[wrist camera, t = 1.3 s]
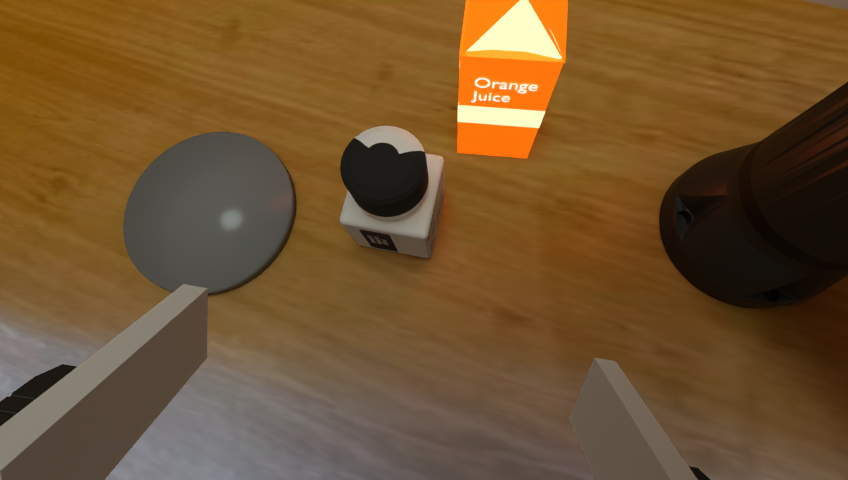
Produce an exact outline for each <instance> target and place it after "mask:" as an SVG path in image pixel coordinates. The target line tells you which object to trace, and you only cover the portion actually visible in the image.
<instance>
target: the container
mask: <svg viewBox="0 0 848 480" xmlns="http://www.w3.org/2000/svg"><path fill="white" fill-rule="evenodd" d="M340 170H341V176H342V180H343V182H344V184H345V186H346V188H347V189H348V191H347V194H346V198H345V201H344V205H343V208H342V212H341V215H340V223H341V224H342V225H343V226H344V228H345V229H346V230H347V231H348V232H349V234H350V235H351V236H352V237H353V238H354V239H355V241H356V242H357V243H358V244H359V245H360V246H365V247H370V248H376V249H381V250H386V251H391V252H396V253H402V254H407V255H412V256H417V257H422V258H430V257H431V256H432V252H433V247H434V242H435V238H436V233H437V228H438V223H439V219H440V214H441V209H442V205H443V200H444V195H445V176H444V159H443V158H442V157H441V156H437V155H431V154H425V151H424V149H423V146H422V145H421V143H420V142H419V141H418V139H417V138H416V137H415V136H414V135H412V134H411V133H409V132H408V131H406V130H404V129H401V128H398V127H393V126H379V127H374V128H371V129H368V130H366V131H364V132H362V133H360V134H359V135H357V136H356V137H355V138H354V139H353V140H352V141H351V142H350V143H349V144H348V146H347V147H346V149H345V151H344V153H343V156H342V159H341V166H340Z"/></svg>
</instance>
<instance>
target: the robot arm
mask: <svg viewBox="0 0 848 480" xmlns="http://www.w3.org/2000/svg"><path fill="white" fill-rule="evenodd" d="M660 230H661V235H662V239H663V242H664V245H665V247H666V250H667V252H668V254H669V256H670V258H671V259H672V261H673V262H674V264H675V265H676V267H677V268H678V269H679V270H680V272H681V273H682V274H683V275H684V276H685V277H686V278H687V279H688V280H689V281H690V282H691V283H693V284H694V285H695V286H696V287H698V288H699V289H700V290H702V291H703V292H705V293H707V294H708V295H710V296H712V297H714V298H716V299H718V300H721V301H723V302H726V303H729V304H732V305H736V306H741V307H747V308H770V307H777V306H784V305H790V304H795V303H798V302H802V301H805V300H807V299H810V298H812V297H814V296H816V295H818V294H819V293H821V292H823V291H824V290H826V289H827V288H829V287H830V286H832V285H833V284H835V283H837V282H838V281H840V280H841V279H843V278H844V277H846V276H847V275H848V82H847V83H845V84H844V85H843V86H841V87H840V88H838V89H837V90H835V91H834V92H833V93H831V94H830V95H828V96H827V97H825V98H824V99H822V100H821V101H820V102H818V103H817V104H815V105H814V106H812V107H811V108H809V109H808V110H806V111H805V112H803V113H802V114H800V115H799V116H797V117H796V118H794V119H793V120H791V121H790V122H788V123H787V124H785V125H784V126H782V127H781V128H779V129H778V130H776V131H775V132H773V133H772V134H771V135H769V136H768V137H766V138H765V139H764V140H762V141H761V142H757V143H754V144H750V145H746V146H743V147H739V148H735V149H732V150H728V151H724V152H720V153H717V154H714V155H712V156H709V157H707V158H705V159H703V160H701V161H699V162H698V163H696V164H695V165H693V166H692V167H691V168H689V169H688V170H687V171H685V172H684V173H683V174H682V175H680V176H679V177H678V178H677V179H676V180H675V181H674V182H673V183H672V185H671V186H670V188H669V189H668V191H667V192H666V195H665V197H664V199H663V202H662V206H661V211H660ZM207 314H208V288H204V287H198V286H192V285H187V284H183V285H182V286H181V287H179V288H178V289H177V290H175V291H174V292H173V293H172V294H170V295H169V296H168V297H166V298H165V299H164V300H163V301H161V302H160V303H159V304H157V305H156V306H155V307H154V308H152V309H151V310H150V311H148V312H147V313H146V314H145V315H143V316H142V317H141V318H139V319H138V320H137V321H136V322H134V323H133V324H132V325H130V326H129V327H128V328H127V329H125V330H124V331H123V332H121V333H120V334H119V335H118V336H116V337H115V338H114V339H112V340H111V341H110V342H109V343H107V344H106V345H105V346H103V347H102V348H101V349H100V350H98V351H97V352H96V353H94V354H93V355H92V356H91V357H89V358H88V359H87V360H85V361H84V362H83V363H81V364H80V365H79V366H78V367H76V366H70V365H64V364H62V365H60V366H58V367H56V368H53V369H51V370H49V371H47V372H45V373H42V374H40V375H38V376H36V377H34V378H33V379H31V380H30V381H28V382H27V383H26V384H24V385H23V386H21V387H20V388H19V389H17V390H16V391H14V392H13V393H12V395H11V396H10V397H6V398H5V399H3V400H2V401H1V402H0V480H105V478H106V477H107V476H108V475H109V474H110V472H111V471H112V470H113V469H114V468H115V467H116V465H117V464H118V463H119V462H120V461H121V459H122V458H123V457H124V456H125V455H126V453H127V452H128V451H129V450H130V449H131V448H132V446H133V445H134V444H135V443H136V442H137V440H138V439H139V438H140V437H141V436H142V434H143V433H144V432H145V431H146V430H147V428H148V427H149V426H150V425H151V424H152V423H153V421H154V420H155V419H156V418H157V417H158V415H159V414H160V413H161V412H162V411H163V409H164V408H165V407H166V406H167V405H168V403H169V402H170V401H171V400H172V399H173V398H174V396H175V395H176V394H177V393H178V392H179V390H180V389H181V388H182V387H183V386H184V384H185V383H186V382H187V381H188V380H189V379H190V377H191V376H192V375H193V374H194V373H195V371H196V370H197V369H198V368H199V367H200V365H201V364H202V363H203V362H204V361H205V359H206V358H207ZM569 421H570V423H571V425H572V428H573V430H574V433H575V435H576V437H577V440H578V442H579V444H580V447H581V449H582V451H583V454H584V456H585V458H586V461H587V463H588V465H589V468H590V470H591V472H592V475H593V477H594V479H595V480H710V479H709V478H708V477H707V476H706V475H705V474H704V473H703V472H702V471H700V470H699V469H698V468H694V467H689V466H688V465H687V464H686V462H685V461H684V459H683V458H682V456H681V455H680V453H679V452H678V451H677V449H676V448H675V446H674V445H673V443H672V442H671V440H670V439H669V438H668V436H667V435H666V433H665V432H664V430H663V429H662V427H661V426H660V425H659V423H658V422H657V420H656V419H655V417H654V416H653V414H652V413H651V412H650V410H649V409H648V407H647V406H646V404H645V403H644V401H643V400H642V399H641V397H640V396H639V394H638V393H637V391H636V390H635V388H634V387H633V386H632V384H631V383H630V381H629V380H628V378H627V377H626V375H625V374H624V373H623V371H622V370H621V368H620V367H619V365H618V364H617V362H616V361H611V360H605V359H600V358H594V360H593V362H592V365H591V367H590V369H589V372H588V374H587V377H586V379H585V381H584V384H583V386H582V388H581V391H580V393H579V396H578V398H577V400H576V403H575V405H574V407H573V410H572V412H571V415H570V417H569Z"/></svg>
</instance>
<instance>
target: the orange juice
mask: <svg viewBox="0 0 848 480" xmlns="http://www.w3.org/2000/svg"><path fill="white" fill-rule="evenodd" d="M567 8H568V0H466V5H465V13H464V21H463V28H462V36H461V44H460V52H459V58H460V62H459V63H460V65H459V101H458V140H457V152H458V153H469V154H481V155H493V156H505V157H516V158H527V157H528V154H529V151H530V149H531V146H532V144H533V141H534V138H535V136H536V133H537V131H538V128H539V127H540V124H541V122H542V119H543V116H544V114H545V110H546V107H547V104H548V102H549V99H550V97H551V94H552V91H553V89H554V86H555V84H556V81H557V78H558V76H559V73H560V70H561V68H562V65H563V63H565V56H566V32H567Z"/></svg>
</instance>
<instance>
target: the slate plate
mask: <svg viewBox="0 0 848 480" xmlns="http://www.w3.org/2000/svg"><path fill="white" fill-rule="evenodd" d="M295 213H296V194H295V188H294V185H293V182H292V179H291V176H290V174H289V172H288V170H287V169H286V167H285V166H284V165H283V163H282V162H281V161H280V160H279V158H278V157H277V156H276V155H275V154H274V153H273V152H272V151H271V150H270V149H269V148H268V147H266V146H265V145H264V144H263V143H261V142H259V141H257V140H255V139H253V138H251V137H248V136H246V135H242V134H238V133H231V132H213V133H206V134H202V135H198V136H194V137H191V138H189V139H186V140H184V141H182V142H180V143H178V144H176V145H174V146H172V147H171V148H169V149H168V150H166V151H165V152H164V153H162V154H161V155H160V156H159V157H157V158H156V159H155V160H154V161H153V162H152V163H151V164H150V165H149V166H148V167H147V169H146V170H145V171H144V172H143V173H142V175H141V176H140V178H139V179H138V181H137V182H136V184H135V186H134V188H133V190H132V192H131V194H130V197H129V199H128V202H127V205H126V210H125V214H124V223H123V228H124V239H125V245H126V248H127V251H128V254H129V256H130V258H131V260H132V262H133V263H134V265H135V266H136V267H137V269H138V270H139V271H140V272H141V273H142V274H143V275H144V276H145V277H146V278H147V279H148V280H150V281H151V282H153V283H154V284H156V285H158V286H160V287H162V288H164V289H168V290H171V291H175V290H177V289H178V288H179V287H181V286H182V285H183V284H187V285H192V286H198V287H204V288H208V295H214V294H220V293H223V292H227V291H230V290H233V289H235V288H238V287H240V286H242V285H244V284H246V283H248V282H249V281H251V280H252V279H254V278H255V277H257V276H258V275H259V274H261V273H262V272H263V271H264V270H265V269H266V268H267V267H268V266H269V265H270V264H271V263H272V262H273V261H274V260H275V259H276V257H277V256H278V255H279V253H280V252H281V250H282V249H283V247H284V245H285V244H286V242H287V240H288V238H289V235H290V233H291V230H292V227H293V223H294V219H295Z"/></svg>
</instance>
